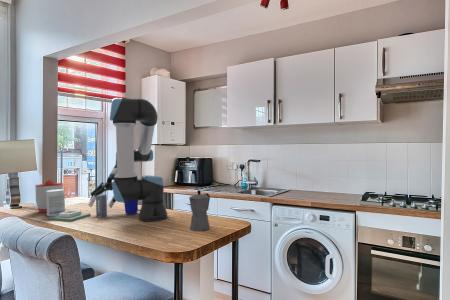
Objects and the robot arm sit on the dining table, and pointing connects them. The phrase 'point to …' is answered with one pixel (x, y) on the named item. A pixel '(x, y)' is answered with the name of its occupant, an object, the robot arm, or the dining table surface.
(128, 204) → the mug
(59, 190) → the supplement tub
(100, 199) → the dark grey block
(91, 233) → the dining table surface
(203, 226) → the coffeepot
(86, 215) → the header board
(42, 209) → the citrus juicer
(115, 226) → the dining table surface
